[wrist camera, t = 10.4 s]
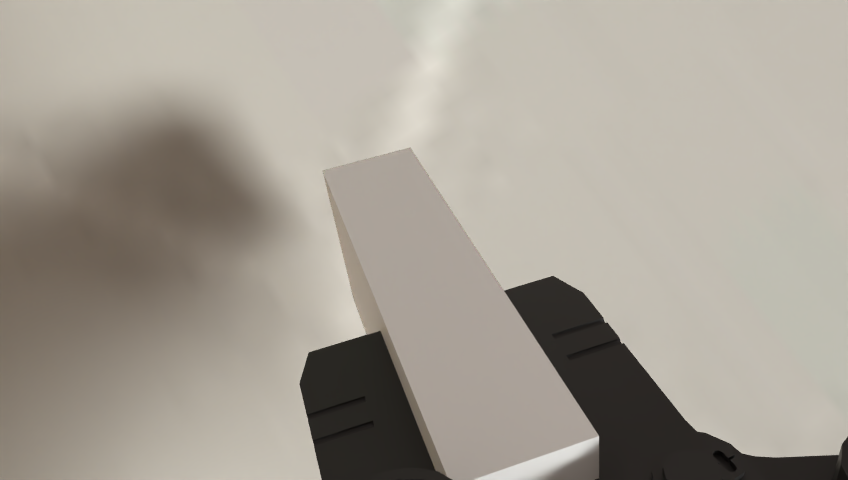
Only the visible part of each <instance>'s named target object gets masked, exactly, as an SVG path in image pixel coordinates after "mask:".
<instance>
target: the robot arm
mask: <svg viewBox="0 0 848 480" xmlns="http://www.w3.org/2000/svg"><path fill="white" fill-rule="evenodd" d="M323 174H324V178H325V182H326V187H327V191H328V195H329V199H330V203H331V207H332V211H333V216H334V220H335V224H336V228H337V232H338V236H339V240H340V245H341V249H342V253H343V257H344V261H345V265H346V269H347V274H348V278H349V282H350V286H351V290H352V294H353V298H354V301H355V304H356V307H357V310H358V312H359V315H360V318H361V320H362V323H363V326H364V329H365V331H366V334H367V335H365V336H361V337H358V338H355V339H352V340H348V341H345V342H342V343H338V344H335V345H332V346H329V347H325V348H322V349H319V350H315V351H312V352H309V353H308V357H307V360H306V363H305V367H304V370H303V374H302V377H301V380H300V388H301V392H302V396H303V400H304V405H305V409H306V413H307V417H308V422H309V426H310V431H311V435H312V439H313V443H314V448H315V452H316V456H317V461H318V465H319V469H320V474H321V478H322V480H848V437H847V438H846V440H845V441H844V442H843V444H842V446H841V450H840V453H839V455H830V456H805V457H781V458H773V457H755V456H750V455H746V454H742V453H740V452H739V451H738V450H737V449H736V448H734V447H733V446H732V445H731V444H729V443H727V442H725V441H723V440H720V439H718V438H716V437H713V436H711V435H709V434H707V433H702V432H697V431H696V430H695V429H694V428H693V427H692V426H691V425H690V424H689V423H688V422H687V421H686V420H685V419H684V418H683V417H682V416H681V414H680V413H679V412H678V411H677V409H676V408H675V407H674V406H673V404H672V403H671V402H670V401H669V399H668V398H667V397H666V396H665V394H664V393H663V392H662V391H661V389H660V388H659V387H658V386H657V384H656V383H655V382H654V381H653V379H652V378H651V377H650V376H649V374H648V373H647V372H646V371H645V369H644V368H643V367H642V366H641V364H640V363H639V362H638V361H637V359H636V358H635V357H634V355H633V354H632V353H631V352H630V350H629V349H628V348H627V347H626V345H625V344H624V343H623V344H621V342H620V338H619V337H618V335H617V334H616V333H615V332H614V330H613V329H612V328H611V327H610V325H609V324H608V323H605V322H604V319H603V317H602V315H601V314H600V313H599V312H598V310H597V309H596V308H595V307H594V305H593V304H592V303H591V302H590V300H589V299H588V298H587V297H586V295H585V294H584V293H583V292H581V291H579V290H577V289H575V288H574V287H572V286H570V285H568V284H567V283H565V282H563V281H561V280H559V279H558V278H556V277H554V276H551V277H548V278H545V279H541V280H538V281H535V282H531V283H528V284H525V285H521V286H518V287H515V288H512V289H508V290H505V291H504V290H503V289H502V287H501V285H500V284H499V282H498V281H497V279H496V278H495V276H494V275H493V273H492V272H491V270H490V269H489V267H488V266H487V264H486V263H485V261H484V260H483V258H482V256H481V255H480V253H479V252H478V250H477V249H476V247H475V246H474V244H473V243H472V241H471V240H470V238H469V237H468V235H467V234H466V232H465V230H464V229H463V227H462V226H461V224H460V223H459V221H458V220H457V218H456V217H455V215H454V214H453V212H452V211H451V209H450V208H449V206H448V204H447V203H446V201H445V200H444V198H443V197H442V195H441V194H440V192H439V191H438V189H437V188H436V186H435V185H434V183H433V182H432V180H431V179H430V177H429V175H428V174H427V172H426V171H425V169H424V168H423V166H422V165H421V163H420V162H419V160H418V159H417V157H416V156H415V154H414V153H413V151H412V149H411V148H407V149H403V150H399V151H395V152H392V153H388V154H384V155H380V156H376V157H373V158H369V159H365V160H361V161H357V162H354V163H350V164H346V165H342V166H338V167H335V168H331V169H327V170H323Z"/></svg>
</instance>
